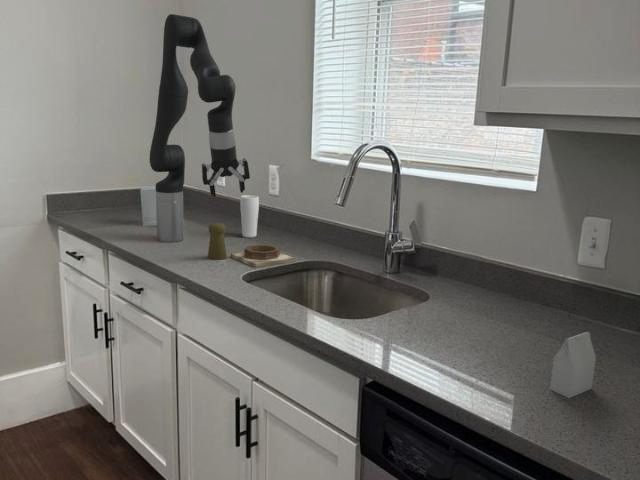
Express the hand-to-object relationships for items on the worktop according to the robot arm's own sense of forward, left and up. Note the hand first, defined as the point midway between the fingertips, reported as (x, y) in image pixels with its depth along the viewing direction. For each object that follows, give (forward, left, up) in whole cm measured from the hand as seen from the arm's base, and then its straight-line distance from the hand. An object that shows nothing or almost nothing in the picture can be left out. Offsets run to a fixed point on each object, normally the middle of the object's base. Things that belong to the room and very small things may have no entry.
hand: (227, 193), depth 181 cm
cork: (0, -4, -20) cm, 21 cm away
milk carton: (+113, +5, -20) cm, 115 cm away
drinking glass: (-22, +21, -20) cm, 37 cm away
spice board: (+9, +7, -20) cm, 23 cm away
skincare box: (-59, -1, -20) cm, 63 cm away
